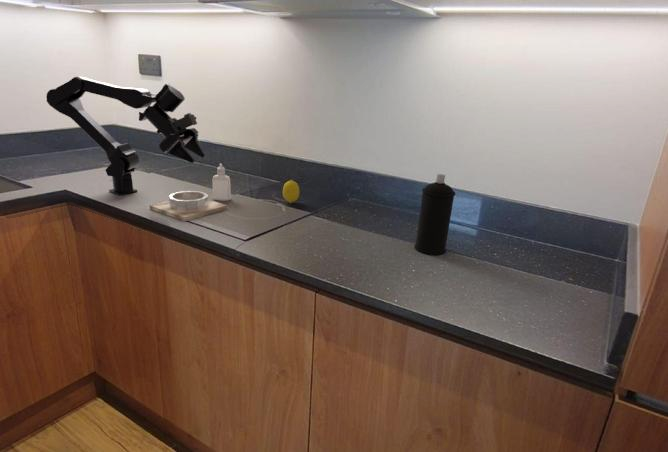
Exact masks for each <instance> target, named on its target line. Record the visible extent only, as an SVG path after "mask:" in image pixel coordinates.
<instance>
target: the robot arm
mask: <svg viewBox="0 0 668 452" xmlns="http://www.w3.org/2000/svg"><path fill="white" fill-rule="evenodd" d="M85 93H90V94H94V95H96V96H97V95H99V96H102V97H106V98H110V99H114V100H116V101H119V102H121V103H122V104H124V105H126V106H128V107H131V108H132V109H137V110H139V109H142V108H143V109H144V108H145V110H144V111H139V112H138V121H139V122H142V121H146V120H147V121H149V122H150V124H151V125H152V126H153V127H154V128H156V131H155V132H156V133H157V134H158V135H163V137H164V139H163V140H162V141H161V142H160V143H159V144H158V145H159V149H160V150H161V152H162V153H163V154H166V153H167V155H172V156H174V157H177V158H179V159H181V160H184V161H186V162H188V163H190V164H194V162H196V161H195V158H193V156H192V155H191V153H190V152H192V153H193V154H196V155H197V156H199V157H201V158H202V159H203V158H205V156H206V155H205V153H204V151H203V149H202V147H201V146H200V143H199V141H198V138H199V137H198V136H199V131H198V130H197V129H196V128H195V127H191V126H196V125H198V121H197V117H196V116H195V115H194V113H193V114H192V113H191V112H188V113H186V114H184V115H183V117H182V118H179V119H177V118H176V117H173V118H172V117H171V116H170V115H169V114H168V113H173V112H175V111H176V109H177V108H178V107H179V106H180V105H181V104H182V103H183V102H184V101H185V96H184V94H183V93H182V92H181V91H180V90H178V89H176V88H175V87H174V86H172V85H171V84H169V83H165V84H164V85H163V86H162V88H161V89H160V90H159V92H158V93H151V91H150V90H149V89H147V88H142V87H141V88H139V87H123V86H118V85H116V84H115V85H114V84H111V83H107V82H103V81H99V80H95V79H91V78H88V77H86V76H74V77H73V78H71V79H70V80H69V81H67V82H65V83H63V84H61V85H59V86H57V87H56V88H51V89H49V90H48V91H47V92H46V102H47V104H48V105H49V106H50V107H51V108H53V110H55V111H57V112H58V113H60V114H62V115H64V116H66V117H68V118H70V119H71V120H72V121H74V123H75V124H77V126H78V127H80V128H81V130H83V131H84V132H85V134H87V135H88V136H89V137H90V138H91V139H92V140H93V141H94V142H95V143H96V144H97V145H98V146H99V147H100V148H101V149H102V150H103V151H104V152H105V154H106V157H107V159H108V160H107V161H109V163H110V164H109V165H108V166H107V168H106V169H105V172H106V175H107V176H108V177H111V180H112V186H113V187H112V188H111V189H109V190H108V192H111V193H113V194H116V195H118V196H120V195H126V194H131V193H132V194H133V193H135V192H138V189H136V188H134V185H133V178H132V177H133V176H132V173H134V172H135V170H136V167H138V165H139V164H140V163H139V162H140V157H139V155H138V154H137V153H138V152H137V151H136V150H134V149H133V148H132V147H131V144H129V143H128V142H126V143H120V142H118V141H117V140H116V139H115V138H114V137H113V136H112V135H111V134H110V133H109V132H108V131H106V129H105V128H104V127H102V126H101V125H100V124H99V123H98V121H96V120H95V118H93V117H92V116H91V114H90V113H89V112H87V110H85V108H84V106H83V104H82V100H81V98H82V97H83V96H84V95H85ZM152 104H153V105H152ZM189 127H190V128H189ZM188 150H189V151H190V152H189V151H188Z"/></svg>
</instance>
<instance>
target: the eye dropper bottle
mask: <svg viewBox="0 0 668 452" xmlns="http://www.w3.org/2000/svg"><path fill="white" fill-rule="evenodd" d="M216 170H217V171H216V172H217V174H215V175H213V176H212V181H211V184H212V200H214V201H215V200H216V201H221V202H227V201H229V200H230V201H231V197H232V196H231V195H232V194H231V178H230V176H229V175H226V169H225V167H224V166H223V164H222V163H219V166H218V167H216Z"/></svg>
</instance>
